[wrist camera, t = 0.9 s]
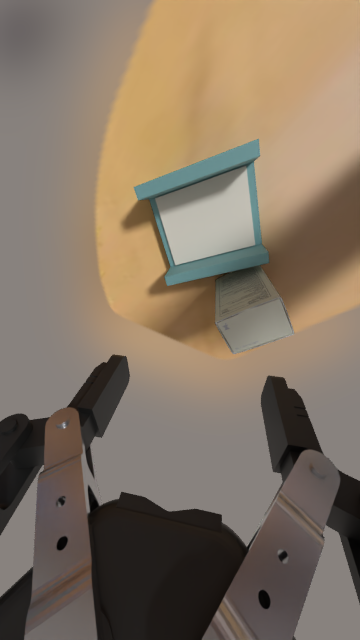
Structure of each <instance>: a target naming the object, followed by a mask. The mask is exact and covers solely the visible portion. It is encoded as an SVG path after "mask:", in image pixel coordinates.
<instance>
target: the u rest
mask: <svg viewBox="0 0 360 640" xmlns="http://www.w3.org/2000/svg"><path fill="white" fill-rule="evenodd" d="M259 156H260V149H259V139H257V140H254V141H252V142H249V143H246V144H244V145H241V146H239V147H236V148H234V149H231V150H228V151H226V152H223V153H221V154H218V155H215V156H213V157H210V158H208V159H205V160H203V161H200V162H197V163H195V164H192V165H190V166H187V167H185V168H182V169H179V170H177V171H174V172H172V173H169V174H166V175H164V176H161V177H159V178H156V179H154V180H151V181H148V182H146V183H143V184H141V185H138V186H136V187H134V190H135V192H136V195H137V198H138V200H146V199H149V200H150V204H151V207H152V210H153V213H154V216H155V219H156V222H157V226H158V229H159V232H160V235H161V238H162V241H163V245H164V248H165V251H166V254H167V257H168V260H169V263H170V269H169V270H168V272H167V274H166V275H165V277H164V278H165V281H166V284H167V286H169V285H174V284H178V283H183V282H187V281H191V280H196V279H200V278H205V277H209V276H214V275H218V274H222V273H227V272H231V271H236V270H240V269H245V268H249V267H253V266H258V265H262V264H267V263H269V254H268V251H267V250H266V249H265V247H264V246H263V245H262V240H261V230H260V220H259V210H258V200H257V189H256V179H255V169H254V161H255V160H256V159H257V158H258V157H259Z"/></svg>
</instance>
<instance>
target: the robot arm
mask: <svg viewBox="0 0 360 640" xmlns="http://www.w3.org/2000/svg"><path fill="white" fill-rule="evenodd" d="M129 377H130V374H129V368H128V362H127V357H126V356H120V355H112V356H111V357H110V359H109V361H108V362H107V363H105V362H103V363H101V364H100V365H99V366H98V367H96V368H95V369H94V371H93V372H92V373H91V375H90V377H88V379H87V380H86V383H84V384H83V386H82V387H81V389H80V390H79V392H78V393H77V394H76V396H75V397H74V399H73V400H72V401H71V403H70V404H69V405H68V406H67V408H63V409H60V410H58V411H57V412H55V413H54V414H53V415H51V417H48V418H42V419H35V420H29V419H28V417H27V416H26V415H24V414H15V415H11V416H9V417H7V418H5V419H4V420H2V421H1V422H0V535H1V533H2V532H3V530H4V528H5V527H6V525H7V523H8V522H9V520H10V518H11V517H12V515H13V513H14V512H15V510H16V508H17V506H18V505H19V503H20V502H21V500H22V498H23V496H24V495H25V493H26V491H27V490H28V488H29V486H30V485H31V483H32V482H33V480H34V478H35V477H36V475H37V473H38V471H39V470H40V468H41V467H42V465H44V470H43V472H41V473H40V474H39V477H38V483H37V502H36V522H35V540H34V561H33V567H32V568H31V569H30V570H29V571H28V572H27V573H26V574H25V575H24V576H22V577H21V578H20V579H19V580H18V581H17V582H16V583H15V584H14V585H13V586H12V587H11V588H10V589H8V590H7V591H6V592H5V593H4V594H3V595H2V596H1V597H0V640H296V639H295V637H294V633H295V630H296V627H297V624H298V620H299V618H300V615H301V612H302V609H303V606H304V603H305V600H306V597H307V594H308V591H309V588H310V585H311V582H312V579H313V576H314V573H315V570H316V567H317V564H318V561H319V558H320V555H321V552H322V549H323V546H324V537H323V531H324V528H325V525H327V526H328V527H330V528H332V529H334V530H335V531H337V532H339V535H340V538H341V542H342V545H343V548H344V552H345V555H346V559H347V562H348V565H349V568H350V572H351V576H352V579H353V582H354V586H355V589H356V592H357V596H358V599H359V603H360V481H358V480H356V479H354V478H352V477H350V476H348V475H346V474H344V473H342V472H341V471H339V470H338V469H337V468H336V467H335V465H334V464H333V463H332V462H331V460H330V459H329V458H327V457H326V456H325V455H324V454H323V452H322V450H321V447H320V445H319V442H318V440H317V437H316V434H315V432H314V429H313V427H312V424H311V421H310V419H309V416H308V414H307V411H306V410H305V405H304V403H303V400H302V398H301V397H300V396H299V395H298V393H297V392H296V391H295V389H289V388H288V387H287V384H286V381H285V379H284V378H283V377H275V376H268V377H267V380H266V383H265V386H264V389H263V392H262V395H261V407H262V412H263V418H264V424H265V429H266V435H267V440H268V446H269V452H270V457H271V463H272V469H273V472H277V473H281V475H282V480H283V483H282V484H281V486H280V488H279V490H278V491H277V493H276V495H275V497H274V499H273V500H272V502H271V504H270V506H269V508H268V510H267V511H266V513H265V515H264V517H263V518H262V520H261V522H260V524H259V526H258V527H257V529H256V530H255V532H254V534H253V536H252V538H251V539H250V541H249V543H248V545H247V547H246V546H245V544H244V543H243V541H242V540H241V539H240V538H239V536H238V535H237V534H236V533H235V532H234V531H233V530H232V529H230V528H229V527H228V526H227V525H225V524H223V523H222V515H220V514H216V513H212V512H207V511H203V510H199V509H191V510H182V511H172V512H169V511H166V510H164V509H163V508H161V507H160V506H158V505H156V504H155V503H153V502H152V501H150V500H148V499H147V498H145V497H142V496H137V495H133V494H129V493H124V492H121V495H120V498H119V499H116V500H112V501H109V502H107V503H105V504H103V505H102V502H101V497H100V492H99V488H98V484H97V479H96V473H95V466H94V460H93V454H92V446H91V442H92V440H93V438H94V437H95V436H96V437H101V438H102V436H103V434H104V432H105V430H106V428H107V426H108V424H109V422H110V420H111V418H112V416H113V414H114V412H115V410H116V408H117V405H118V404H119V401H120V399H121V397H122V395H123V393H124V391H125V389H126V387H127V385H128V382H129Z"/></svg>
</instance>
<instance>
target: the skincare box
mask: <svg viewBox="0 0 360 640" xmlns="http://www.w3.org/2000/svg"><path fill="white" fill-rule="evenodd" d="M215 324H216V326H217V328H218V330H219V331H220V333H221V335H222V337H223V338H224V340H225V342H226V344H227V345H228V347H229V349H230V350H231V352H232V353H233V354H237V353H240V352H243V351H247V350H250V349H253V348H256V347H259V346H262V345H265V344H268V343H271V342H274V341H277V340H280V339H283V338H286V337H288V336H291V335H294V330H293V328H292V325H291V322H290V319H289V316H288V313H287V310H286V308H285V305H284V303H283V300H282V298H281V296H280V295H279V293H278V292H277V291H276V289H275V287H274V286H273V284H272V283H271V281H270V280H269V278H268V277H267V275H266V274H265V272H264V271H263V269H262V268H261V266H260V265H258V266H253V267H249V268H245V269H240V270H236V271H233V272H231V273H228V274H226V275H224V276H222V277H220V278H218V279H217V280H216V293H215Z"/></svg>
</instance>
